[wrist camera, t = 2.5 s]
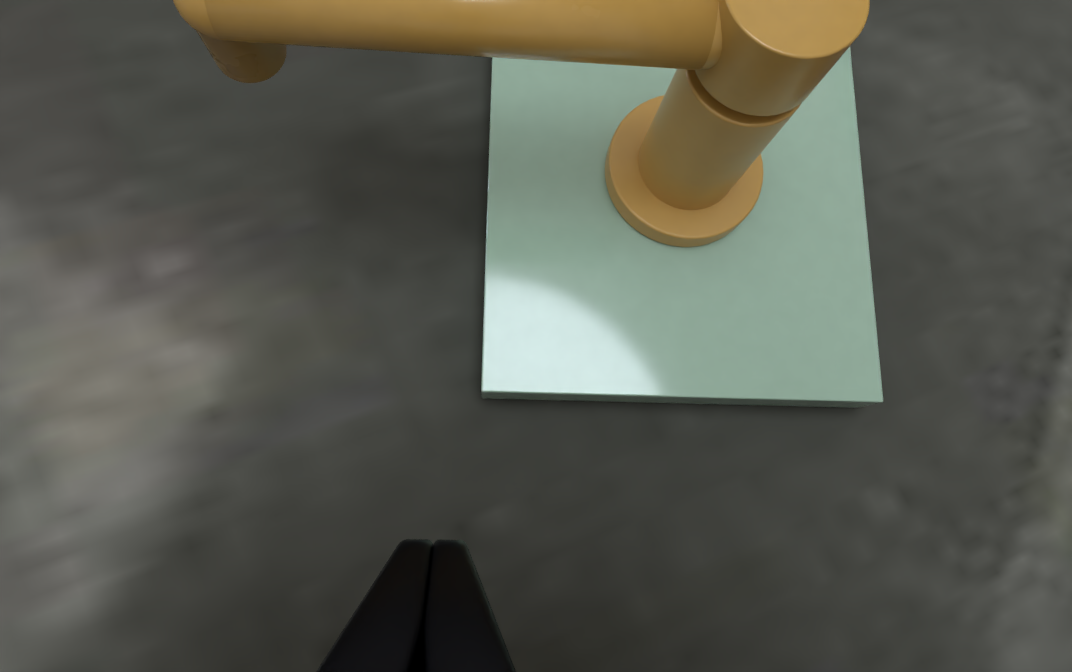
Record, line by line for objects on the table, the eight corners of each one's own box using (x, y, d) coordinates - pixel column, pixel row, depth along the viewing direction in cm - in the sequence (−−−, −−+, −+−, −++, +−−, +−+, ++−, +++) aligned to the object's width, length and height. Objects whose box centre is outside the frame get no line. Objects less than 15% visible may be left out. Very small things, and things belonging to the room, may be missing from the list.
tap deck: (857, 407, 22) (884, 402, 21) (480, 398, 21) (481, 391, 20) (824, 23, 25) (845, -6, 24) (494, 1, 24) (494, -30, 23)
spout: (794, 32, 17) (863, -69, 14) (802, 142, 17) (877, 62, 13) (219, -6, 16) (156, -124, 13) (203, 110, 16) (134, 15, 12)
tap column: (784, 197, 22) (887, 98, 16) (664, 276, 21) (730, 200, 15) (694, 81, 23) (764, -53, 17) (574, 152, 22) (606, 36, 16)
